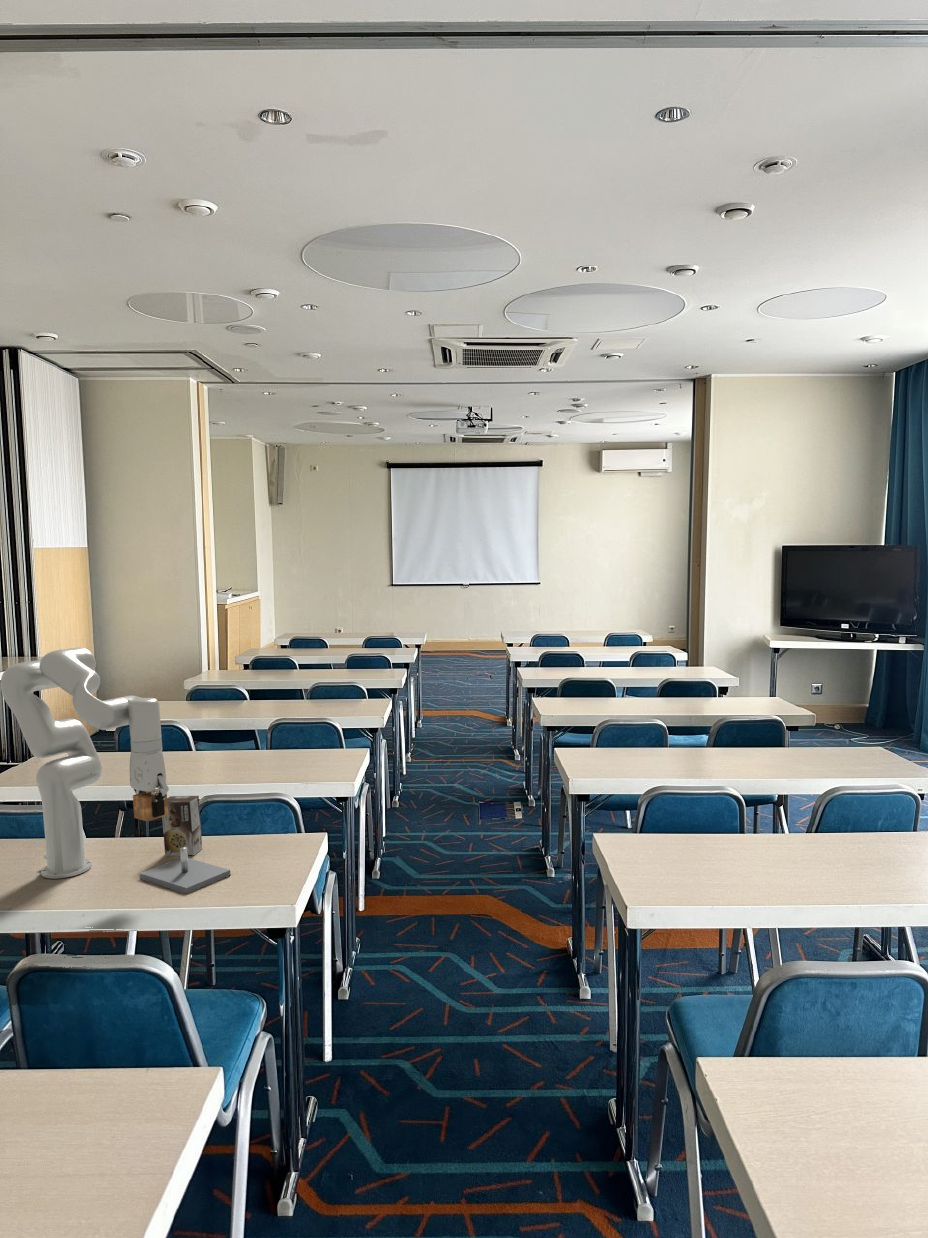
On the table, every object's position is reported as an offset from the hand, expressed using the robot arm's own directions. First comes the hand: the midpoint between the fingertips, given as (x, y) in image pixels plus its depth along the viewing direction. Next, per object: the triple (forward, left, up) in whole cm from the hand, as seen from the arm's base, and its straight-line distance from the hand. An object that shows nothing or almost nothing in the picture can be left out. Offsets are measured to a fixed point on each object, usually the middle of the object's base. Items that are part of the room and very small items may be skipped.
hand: (151, 813), depth 214 cm
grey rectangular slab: (+1, +8, -20) cm, 21 cm away
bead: (0, 0, -1) cm, 1 cm away
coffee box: (-16, +20, -20) cm, 33 cm away
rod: (+1, +8, -18) cm, 20 cm away
